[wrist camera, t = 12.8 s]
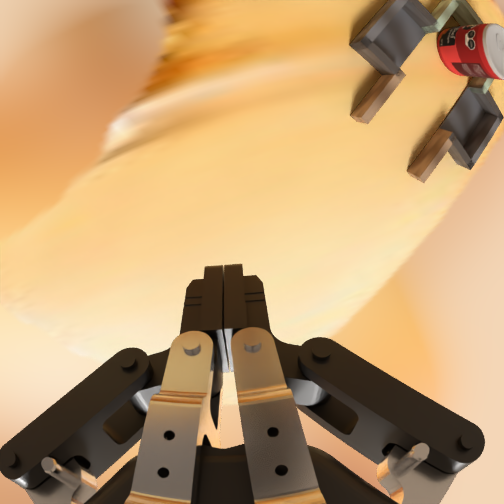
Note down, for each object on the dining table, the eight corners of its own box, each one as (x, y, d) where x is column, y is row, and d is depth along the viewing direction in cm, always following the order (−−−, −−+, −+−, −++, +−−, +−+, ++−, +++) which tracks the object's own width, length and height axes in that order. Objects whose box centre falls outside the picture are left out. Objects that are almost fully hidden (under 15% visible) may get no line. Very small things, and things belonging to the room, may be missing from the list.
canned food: (456, 24, 27) (504, 19, 17) (476, 68, 31) (524, 73, 21) (427, 34, 29) (477, 28, 19) (449, 81, 32) (500, 87, 23)
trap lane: (431, 199, 41) (447, 209, 37) (315, 86, 33) (326, 85, 29) (505, 86, 32) (523, 89, 28) (416, -30, 23) (432, -37, 19)
